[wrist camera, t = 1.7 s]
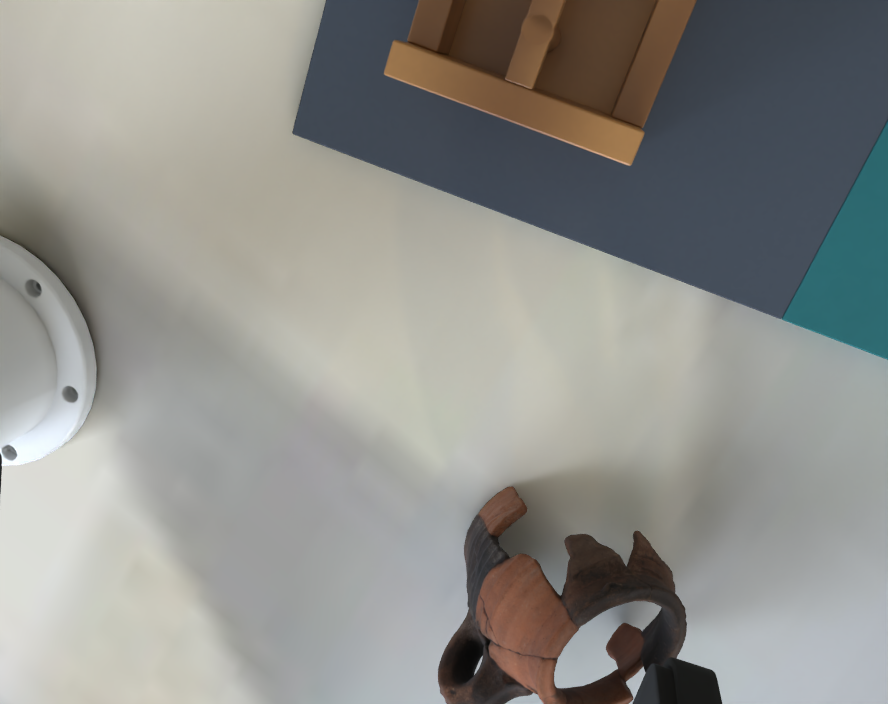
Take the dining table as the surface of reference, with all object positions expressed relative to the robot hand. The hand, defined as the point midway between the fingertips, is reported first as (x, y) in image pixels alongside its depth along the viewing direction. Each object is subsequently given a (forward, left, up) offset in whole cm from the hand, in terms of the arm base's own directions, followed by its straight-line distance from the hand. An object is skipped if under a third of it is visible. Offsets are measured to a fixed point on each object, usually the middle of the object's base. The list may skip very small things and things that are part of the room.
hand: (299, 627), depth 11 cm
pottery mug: (+8, -14, -26) cm, 30 cm away
